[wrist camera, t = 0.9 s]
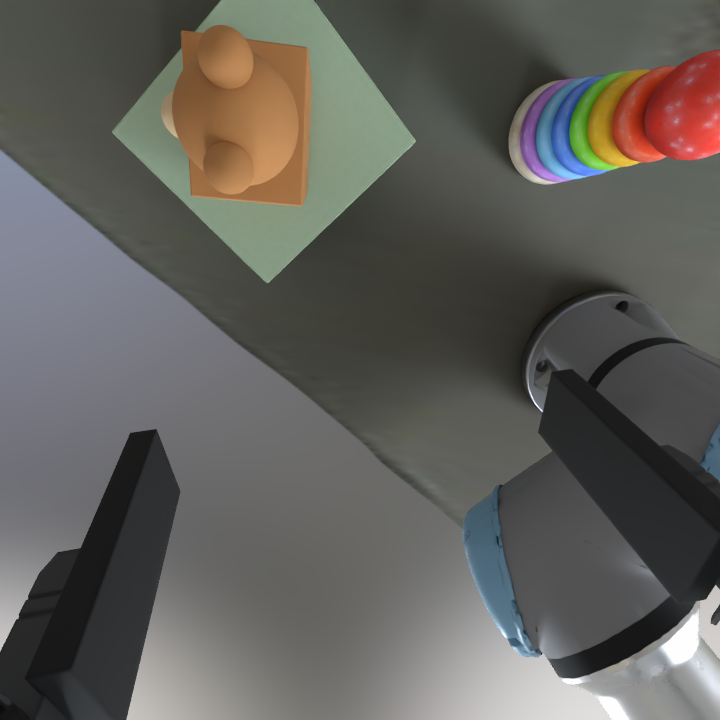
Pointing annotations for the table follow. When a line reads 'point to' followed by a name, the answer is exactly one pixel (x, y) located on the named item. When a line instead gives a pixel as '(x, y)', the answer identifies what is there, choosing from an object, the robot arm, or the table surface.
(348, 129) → the pale green square stand
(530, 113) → the stacking toy
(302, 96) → the plush bear
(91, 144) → the table surface
